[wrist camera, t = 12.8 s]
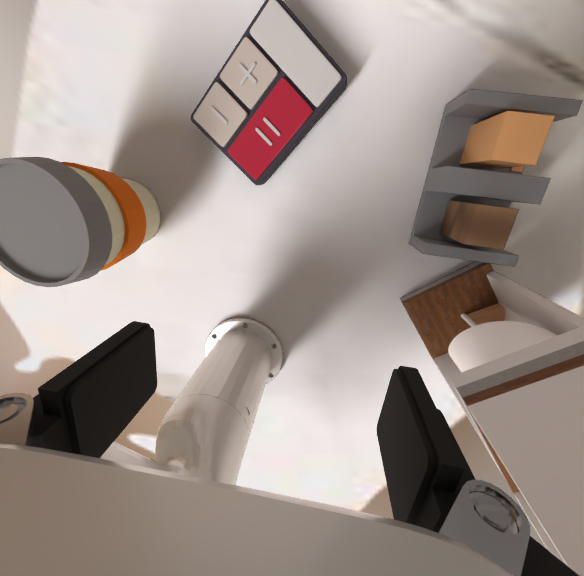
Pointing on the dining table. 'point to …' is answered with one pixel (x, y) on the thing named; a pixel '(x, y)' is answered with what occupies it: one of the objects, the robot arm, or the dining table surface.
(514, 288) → the banded white column
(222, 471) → the robot arm
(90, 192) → the reusable coffee cup
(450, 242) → the grey slotted rack
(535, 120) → the tan tall block
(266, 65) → the calculator
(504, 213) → the walnut plug
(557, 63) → the dining table surface
